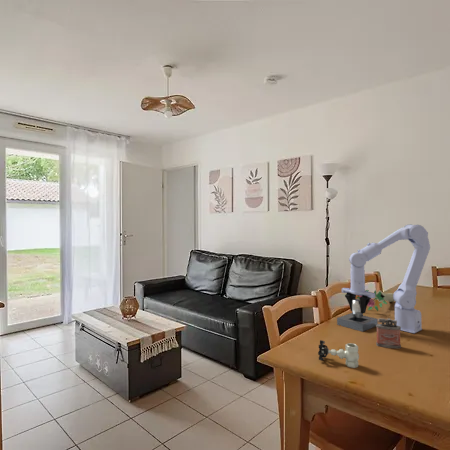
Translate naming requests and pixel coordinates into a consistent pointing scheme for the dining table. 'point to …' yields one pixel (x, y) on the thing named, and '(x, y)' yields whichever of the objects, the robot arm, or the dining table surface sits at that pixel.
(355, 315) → the bushing
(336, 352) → the valve
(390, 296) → the flower vase
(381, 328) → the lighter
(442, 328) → the dining table surface
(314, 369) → the dining table surface
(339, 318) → the block
